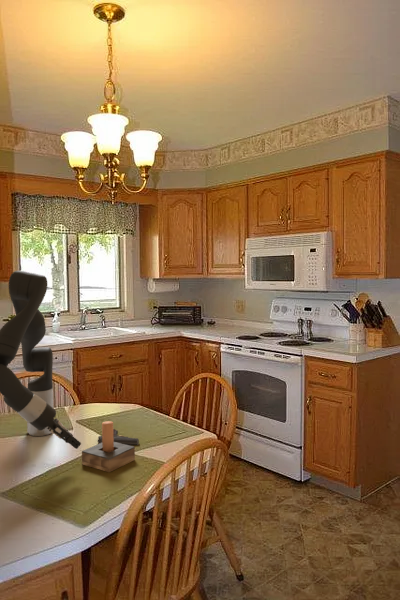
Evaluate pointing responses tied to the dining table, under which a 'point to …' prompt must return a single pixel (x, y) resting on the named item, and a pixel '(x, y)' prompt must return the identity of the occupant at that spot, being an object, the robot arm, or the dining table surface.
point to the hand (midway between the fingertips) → (74, 442)
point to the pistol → (121, 439)
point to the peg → (107, 436)
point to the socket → (108, 457)
